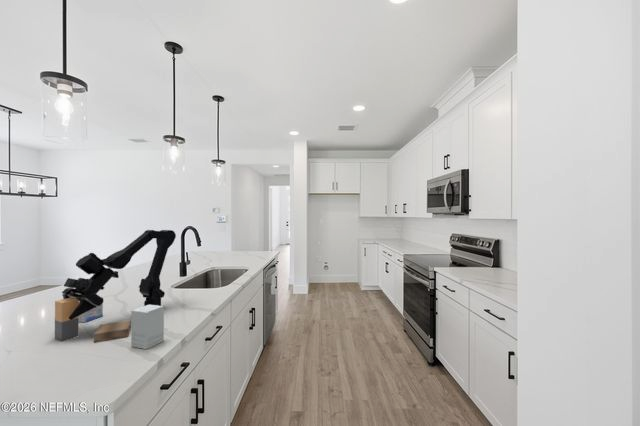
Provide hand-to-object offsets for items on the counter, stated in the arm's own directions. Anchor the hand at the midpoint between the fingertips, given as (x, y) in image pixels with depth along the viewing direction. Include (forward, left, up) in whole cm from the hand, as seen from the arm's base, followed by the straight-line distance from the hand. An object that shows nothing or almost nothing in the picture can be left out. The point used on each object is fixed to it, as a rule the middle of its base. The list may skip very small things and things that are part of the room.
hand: (63, 317), depth 103 cm
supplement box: (-28, +19, -8) cm, 35 cm away
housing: (-1, -1, -8) cm, 8 cm away
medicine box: (-4, -21, -8) cm, 23 cm away
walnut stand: (-16, +4, -8) cm, 18 cm away
